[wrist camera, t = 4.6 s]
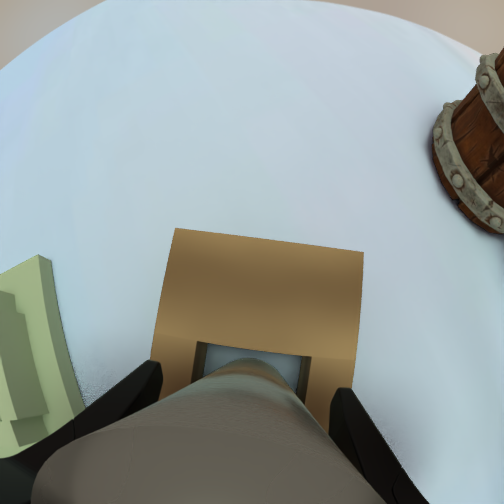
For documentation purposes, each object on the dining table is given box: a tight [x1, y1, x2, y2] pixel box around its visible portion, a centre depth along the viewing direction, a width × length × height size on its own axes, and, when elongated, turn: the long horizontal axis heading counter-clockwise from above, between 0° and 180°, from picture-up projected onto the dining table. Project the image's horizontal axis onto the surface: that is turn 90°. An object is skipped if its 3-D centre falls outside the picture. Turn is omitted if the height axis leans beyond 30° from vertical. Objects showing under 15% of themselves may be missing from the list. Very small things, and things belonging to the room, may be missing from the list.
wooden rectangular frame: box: [150, 228, 364, 434], centre depth 14 cm, size 12×9×3 cm
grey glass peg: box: [31, 358, 387, 504], centre depth 8 cm, size 4×4×14 cm
